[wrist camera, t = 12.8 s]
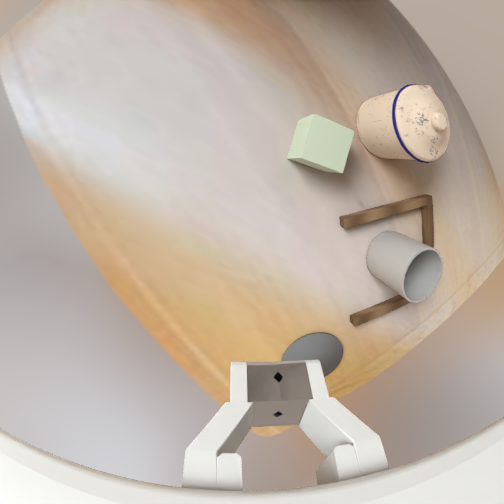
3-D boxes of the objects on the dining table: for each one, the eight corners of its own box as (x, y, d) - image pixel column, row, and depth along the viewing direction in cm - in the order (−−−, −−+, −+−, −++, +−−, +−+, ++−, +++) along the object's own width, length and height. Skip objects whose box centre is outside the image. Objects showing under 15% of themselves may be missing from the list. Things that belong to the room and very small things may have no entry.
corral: (350, 321, 40) (354, 326, 39) (339, 216, 35) (344, 219, 34) (426, 288, 42) (431, 291, 40) (425, 194, 36) (431, 195, 35)
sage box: (298, 120, 31) (313, 113, 26) (334, 134, 32) (354, 131, 27) (286, 158, 32) (300, 157, 27) (324, 171, 33) (342, 173, 28)
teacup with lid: (387, 173, 34) (448, 182, 23) (341, 128, 32) (398, 119, 21) (421, 114, 32) (479, 109, 22) (381, 70, 30) (437, 50, 19)
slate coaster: (268, 372, 41) (269, 375, 41) (303, 324, 39) (304, 326, 38) (318, 384, 44) (319, 387, 43) (352, 341, 41) (354, 344, 41)
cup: (386, 219, 36) (427, 235, 28) (417, 258, 39) (455, 279, 31) (355, 259, 37) (392, 284, 29) (391, 294, 40) (425, 320, 32)
